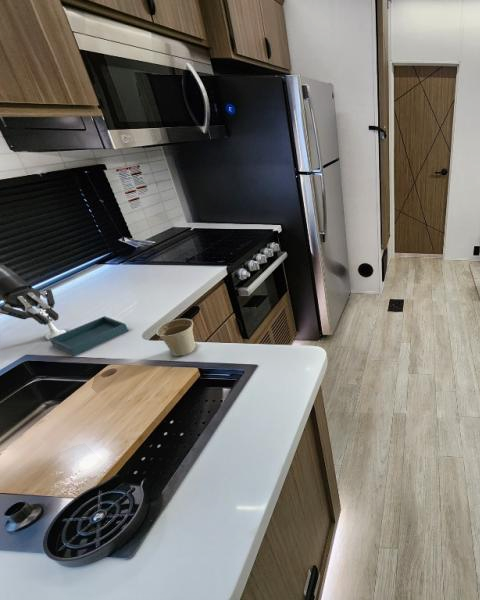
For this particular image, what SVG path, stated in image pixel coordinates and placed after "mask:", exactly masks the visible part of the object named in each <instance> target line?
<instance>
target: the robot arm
mask: <svg viewBox="0 0 480 600" xmlns="http://www.w3.org/2000/svg"><path fill="white" fill-rule="evenodd" d="M41 296H42V297H43V298H44V299H46V302H47V303H46V302H45V301H44V300H43V299H41ZM0 300H2V301H3V302H4V305H2V306H0V314H2V315H6V316H9V317H13V318H16V319H21V320H28V319H33V320H34V321H36V322H37V323H38V324H39V325H44V326H48V325H47V324H48V323H49V321H48V320H47V319H46V318H45V317H43V316H42V315H41V314H42V313H39V312H37V311H36V310H35V309H34V308H33V307H35V308H36V309H38V310H40V309H43V310H46V311H45V312H44V313H48V314H49V318H50V319H52V321H55V322H56V321H58V320H59V314H58V313H57V312H56V311H55V310H54V308H55V304H56V302H55V298H54V294H53V291H52V289H46V290H38V289H37V288H34V287H32V285H30V284H29V283H28V282H27V281H26V280H24V279H23V278H22V277H20V276H19V274H17V273H16V272H14V270H12V269H10V268H8V266H6V265H4V264H3V263H2V262H0Z"/></svg>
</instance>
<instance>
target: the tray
mask: <svg viewBox="0 0 480 600" xmlns="http://www.w3.org/2000/svg"><path fill="white" fill-rule="evenodd" d="M128 331H129V328H128V327H127V325H126V323H124V322H122V321H119V320H116V319H114V318H111V317H108V316H106V315H104V316H102V317H98V318H97V319H95V320H92V321H89V322H87V323H84V324H82V325H80V326H77V327H75V328H73V329H70V330H67V331H66V332H65V333H63V334H60V335H58V336H55V337H53V338H50V339H48V341H50V343H51V345H52V346H53V347H54V348H57V349H59V350H61V351H62V352H65V353H67V354H69V355H71V356H73V357H75V356H77V355H79V354H82V353H83V352H86V351H88V350H90V349H93V348H94V347H97V346H99V345H101V344H104V343H105V342H107V341H110V340H112V339H114V338H116V337H118V336H120V335H122V334H125V333H126V332H128Z"/></svg>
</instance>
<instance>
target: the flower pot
mask: <svg viewBox="0 0 480 600" xmlns="http://www.w3.org/2000/svg"><path fill="white" fill-rule="evenodd" d="M193 329H194V321H193V320H192V319H190V318H177V319H172V320H170V321H167V322H165V323H163V324H162V325H160V326H159V327H157V329H156V330H155V334H156V335H157V336H158V337H159V338H160V339H161V340H162V341H163V342H164V344H165V345H166V346H167V348H168V349H169V351H170V352H171V354H172V355H173V356H175V357H179V356H186V355H189V354H191V353H192V352H194V350H195V348H196V342H195V338H194V332H193Z"/></svg>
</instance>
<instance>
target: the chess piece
mask: <svg viewBox="0 0 480 600" xmlns="http://www.w3.org/2000/svg"><path fill="white" fill-rule="evenodd" d="M45 311H46V310H43V309H39V311H38V313H40V314H41V315H42V316H43V317H45V318H46V319H47V320H48V321H49V323H48V324H47V325H46V326H47V327H48V330H49V332H48V333H47V334H46V335H45V339H46V340H49V339H50V338H53V337H55V336H58V335H60V334H63V333H65V332H67V331H66V330H65V329H59V328H57V327H56V326H55V325H54V324H53V323H52V322H53V319H52V318H50V317H49V314H48V313H46V312H45Z"/></svg>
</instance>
